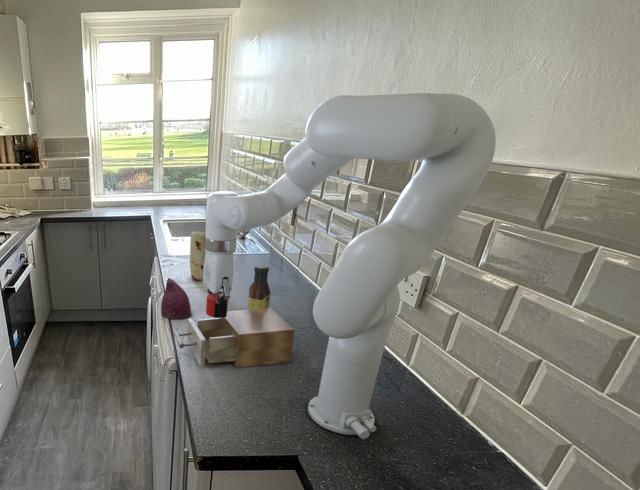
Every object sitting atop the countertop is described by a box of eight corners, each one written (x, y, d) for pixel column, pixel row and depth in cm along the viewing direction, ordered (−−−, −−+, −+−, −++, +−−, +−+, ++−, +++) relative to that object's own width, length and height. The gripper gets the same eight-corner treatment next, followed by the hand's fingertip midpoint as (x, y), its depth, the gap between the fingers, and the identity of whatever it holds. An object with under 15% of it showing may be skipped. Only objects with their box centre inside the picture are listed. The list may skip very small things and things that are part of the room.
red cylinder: (209, 318, 103) (210, 298, 100) (203, 310, 108) (204, 290, 105) (229, 316, 103) (231, 296, 101) (222, 308, 108) (224, 289, 106)
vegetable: (168, 329, 134) (159, 292, 125) (158, 314, 142) (148, 278, 134) (197, 318, 135) (190, 281, 126) (185, 303, 143) (177, 267, 135)
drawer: (181, 368, 103) (182, 342, 100) (170, 344, 116) (170, 320, 112) (250, 361, 105) (253, 335, 102) (232, 338, 117) (234, 314, 114)
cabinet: (236, 367, 105) (239, 334, 101) (218, 341, 118) (220, 311, 114) (290, 362, 106) (294, 329, 102) (266, 337, 119) (269, 307, 115)
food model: (186, 275, 174) (187, 229, 166) (201, 274, 175) (203, 228, 166) (192, 282, 165) (193, 234, 157) (208, 281, 166) (210, 233, 157)
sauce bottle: (267, 332, 122) (274, 270, 113) (246, 331, 123) (252, 269, 115) (265, 323, 127) (272, 263, 119) (245, 322, 129) (250, 263, 120)
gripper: (196, 237, 105) (193, 301, 113) (216, 255, 90) (212, 327, 97) (223, 235, 106) (219, 299, 113) (248, 253, 90) (242, 325, 98)
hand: (216, 311), depth 105 cm, fingers closed on red cylinder, 5 cm apart
